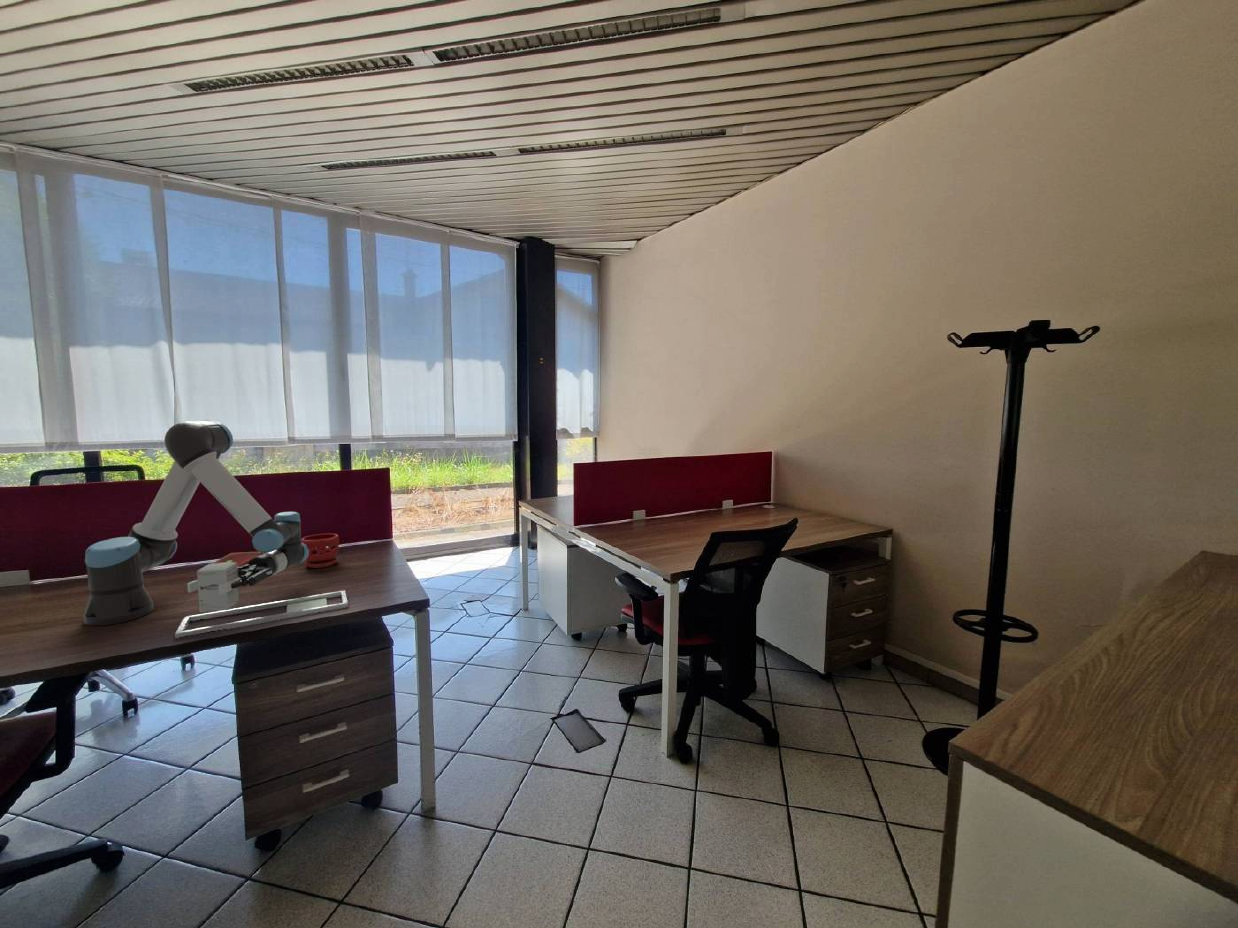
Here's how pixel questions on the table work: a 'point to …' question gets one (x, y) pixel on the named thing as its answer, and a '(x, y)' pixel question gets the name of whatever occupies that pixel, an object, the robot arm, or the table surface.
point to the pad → (306, 605)
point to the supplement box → (216, 587)
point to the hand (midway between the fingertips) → (204, 588)
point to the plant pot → (321, 549)
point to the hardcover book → (239, 558)
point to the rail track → (187, 619)
